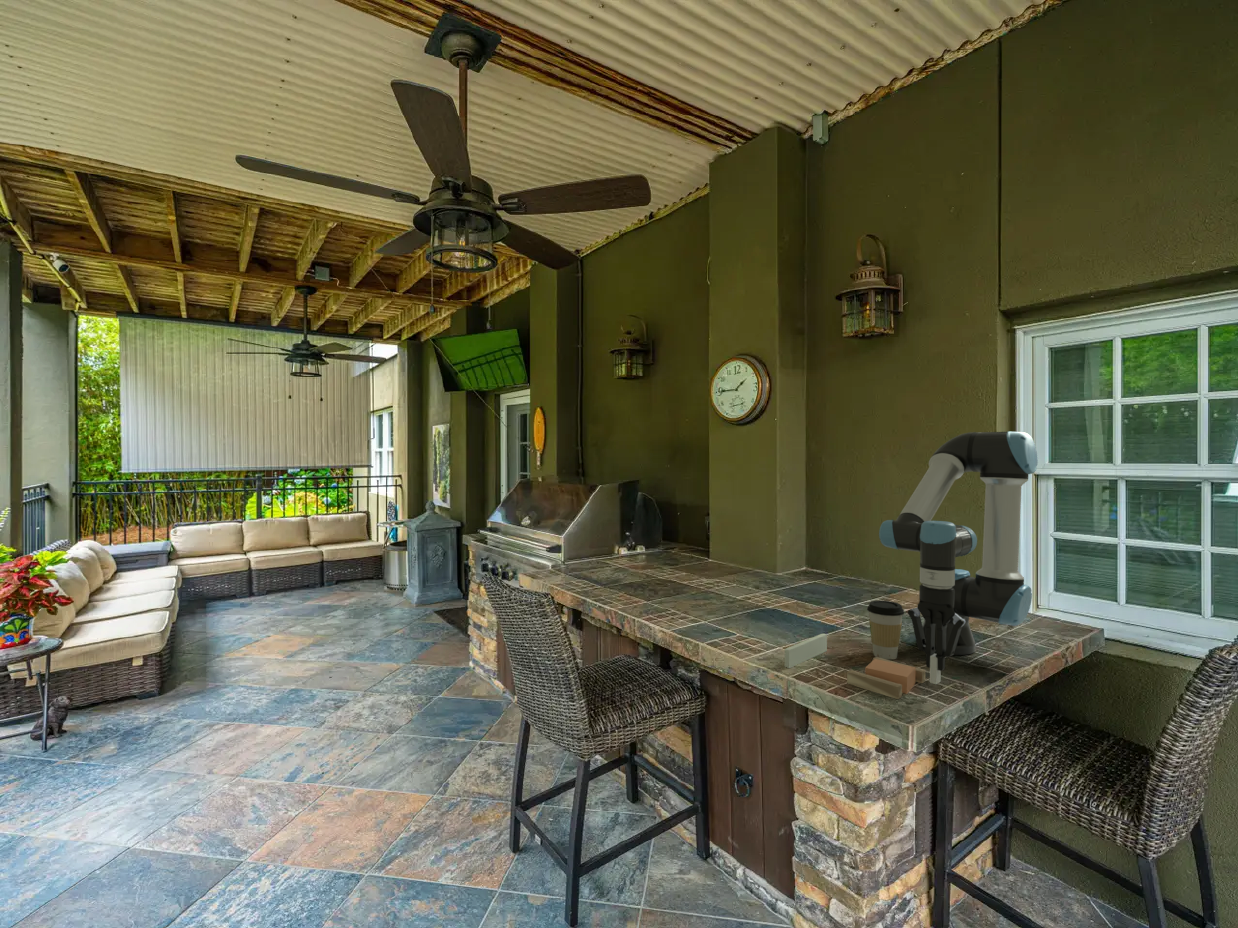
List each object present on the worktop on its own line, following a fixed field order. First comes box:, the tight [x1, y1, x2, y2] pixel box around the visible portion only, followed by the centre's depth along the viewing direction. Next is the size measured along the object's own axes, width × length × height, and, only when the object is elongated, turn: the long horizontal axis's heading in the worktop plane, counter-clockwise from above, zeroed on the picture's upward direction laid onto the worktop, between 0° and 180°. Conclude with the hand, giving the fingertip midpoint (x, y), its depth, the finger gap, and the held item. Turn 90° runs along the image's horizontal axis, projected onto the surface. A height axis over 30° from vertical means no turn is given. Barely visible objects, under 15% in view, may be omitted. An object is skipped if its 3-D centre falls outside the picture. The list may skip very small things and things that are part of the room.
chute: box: [846, 656, 926, 700], centre depth 155 cm, size 16×13×3 cm
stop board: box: [784, 632, 828, 669], centre depth 172 cm, size 20×1×5 cm, turn 132°
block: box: [864, 659, 917, 695], centre depth 154 cm, size 8×10×4 cm
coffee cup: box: [866, 600, 905, 660], centre depth 174 cm, size 10×10×15 cm
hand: (935, 681), depth 146 cm, fingers closed
